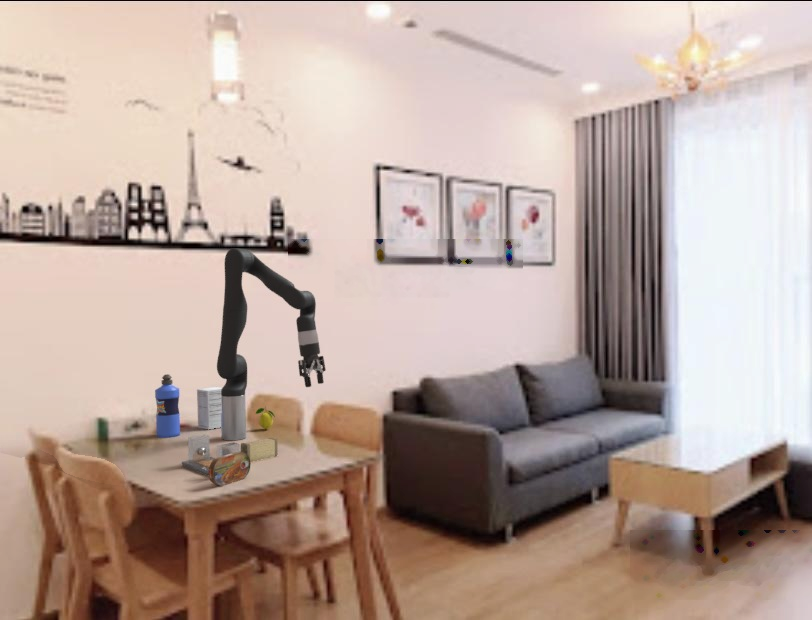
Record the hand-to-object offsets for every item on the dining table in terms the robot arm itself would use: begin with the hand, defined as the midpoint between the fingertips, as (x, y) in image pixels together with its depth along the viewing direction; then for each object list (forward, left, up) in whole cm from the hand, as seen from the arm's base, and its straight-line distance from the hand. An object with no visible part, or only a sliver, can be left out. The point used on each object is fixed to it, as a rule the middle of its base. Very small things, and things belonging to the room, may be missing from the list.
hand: (314, 385), depth 253 cm
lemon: (-38, +2, -22) cm, 44 cm away
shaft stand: (+5, -46, -22) cm, 51 cm away
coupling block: (+4, -28, -22) cm, 36 cm away
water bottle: (-59, -31, -22) cm, 70 cm away
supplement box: (-61, -10, -22) cm, 65 cm away
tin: (+22, -50, -22) cm, 59 cm away
